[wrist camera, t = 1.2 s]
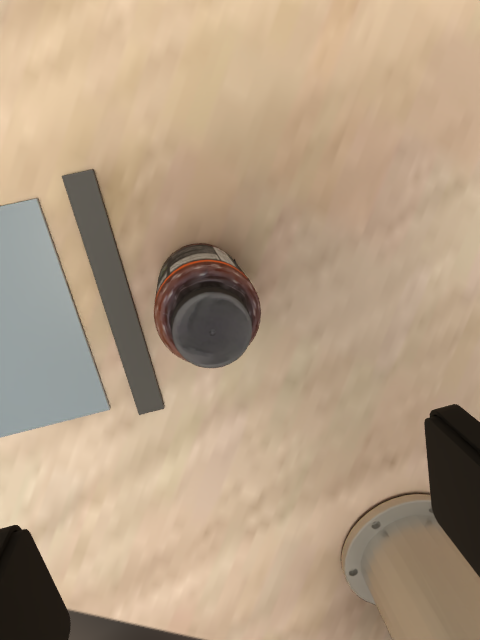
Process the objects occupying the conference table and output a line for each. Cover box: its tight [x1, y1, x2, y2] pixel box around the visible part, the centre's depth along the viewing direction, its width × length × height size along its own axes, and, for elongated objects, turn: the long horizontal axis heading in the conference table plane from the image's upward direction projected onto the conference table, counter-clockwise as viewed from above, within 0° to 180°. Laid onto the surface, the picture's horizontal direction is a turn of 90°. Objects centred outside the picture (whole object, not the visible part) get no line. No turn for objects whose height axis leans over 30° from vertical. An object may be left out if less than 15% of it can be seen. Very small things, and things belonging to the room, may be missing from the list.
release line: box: [62, 169, 164, 415], centre depth 32 cm, size 2×18×1 cm, turn 12°
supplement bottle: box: [154, 244, 261, 368], centre depth 27 cm, size 6×6×11 cm
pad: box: [0, 198, 110, 437], centre depth 31 cm, size 10×16×1 cm, turn 12°
